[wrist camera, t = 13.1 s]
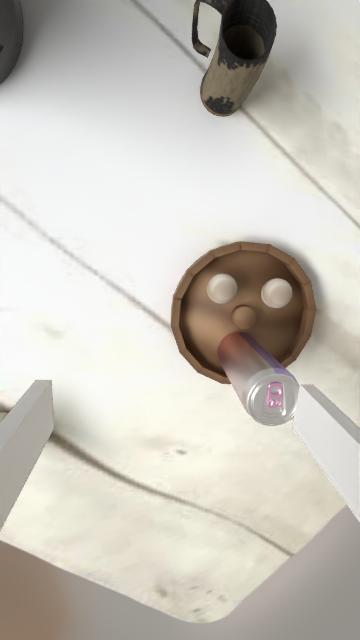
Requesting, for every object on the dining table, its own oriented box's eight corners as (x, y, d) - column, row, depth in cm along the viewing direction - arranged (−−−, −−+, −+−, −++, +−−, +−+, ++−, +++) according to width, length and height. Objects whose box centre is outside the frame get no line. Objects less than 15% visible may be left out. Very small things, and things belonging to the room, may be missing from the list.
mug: (253, 79, 37) (297, 3, 25) (233, 125, 38) (267, 71, 26) (194, 46, 36) (213, -52, 24) (176, 94, 37) (185, 23, 25)
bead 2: (259, 275, 42) (269, 278, 38) (287, 278, 42) (300, 281, 38) (255, 304, 43) (265, 309, 39) (282, 306, 43) (294, 312, 39)
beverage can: (257, 329, 43) (307, 371, 29) (255, 368, 45) (301, 426, 30) (216, 331, 43) (246, 374, 29) (215, 369, 44) (243, 429, 30)
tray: (177, 236, 41) (179, 235, 38) (318, 249, 42) (329, 250, 40) (165, 373, 45) (166, 382, 42) (293, 380, 47) (302, 389, 44)
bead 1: (206, 271, 41) (211, 273, 37) (234, 273, 41) (242, 276, 37) (203, 299, 42) (207, 305, 38) (231, 302, 42) (238, 307, 38)
